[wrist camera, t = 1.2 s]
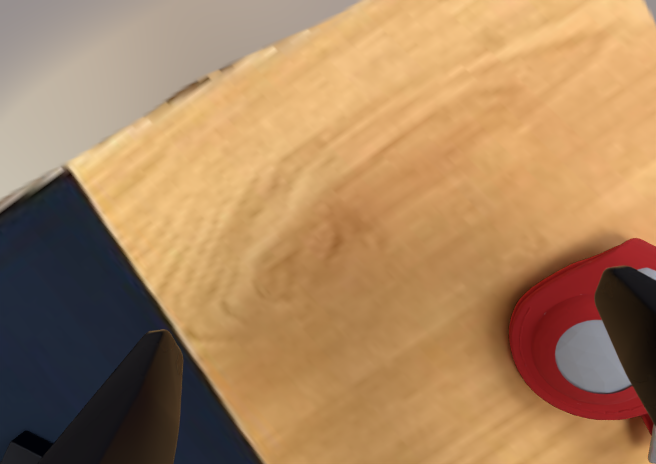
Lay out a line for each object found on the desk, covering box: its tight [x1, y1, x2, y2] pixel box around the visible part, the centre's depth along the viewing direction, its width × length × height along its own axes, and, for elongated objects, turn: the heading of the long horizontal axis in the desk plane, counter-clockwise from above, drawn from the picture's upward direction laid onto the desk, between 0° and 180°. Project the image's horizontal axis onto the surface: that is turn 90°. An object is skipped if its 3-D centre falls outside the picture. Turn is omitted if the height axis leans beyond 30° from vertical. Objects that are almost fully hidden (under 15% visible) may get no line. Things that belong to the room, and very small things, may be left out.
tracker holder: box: [509, 238, 656, 463], centre depth 22 cm, size 12×4×10 cm
